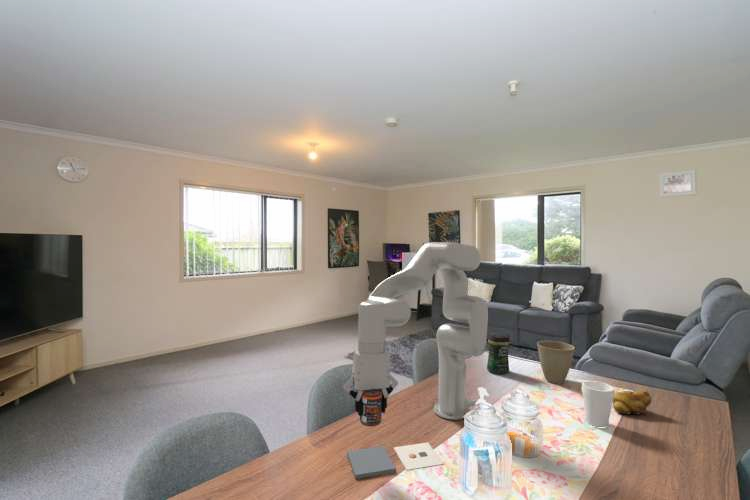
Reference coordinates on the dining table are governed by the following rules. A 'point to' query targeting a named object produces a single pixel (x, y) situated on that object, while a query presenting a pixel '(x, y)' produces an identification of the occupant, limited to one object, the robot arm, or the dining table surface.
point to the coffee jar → (498, 353)
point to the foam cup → (597, 402)
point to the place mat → (370, 462)
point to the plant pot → (555, 360)
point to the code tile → (417, 456)
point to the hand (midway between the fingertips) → (370, 411)
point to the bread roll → (631, 401)
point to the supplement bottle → (371, 407)
